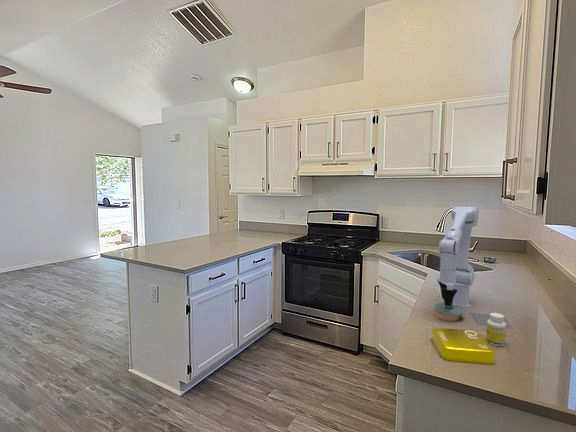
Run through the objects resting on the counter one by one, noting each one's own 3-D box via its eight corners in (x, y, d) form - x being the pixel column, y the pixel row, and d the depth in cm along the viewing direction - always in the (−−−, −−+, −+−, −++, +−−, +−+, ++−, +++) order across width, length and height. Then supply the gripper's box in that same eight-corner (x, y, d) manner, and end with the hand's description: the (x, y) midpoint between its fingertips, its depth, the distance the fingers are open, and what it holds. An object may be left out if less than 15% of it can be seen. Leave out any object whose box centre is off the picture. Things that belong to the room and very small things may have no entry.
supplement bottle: (487, 337, 113) (488, 310, 112) (506, 342, 109) (507, 314, 108) (484, 343, 108) (486, 315, 108) (504, 348, 105) (505, 319, 104)
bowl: (432, 311, 136) (432, 305, 135) (456, 314, 133) (456, 307, 132) (434, 320, 127) (435, 313, 127) (460, 323, 124) (460, 315, 124)
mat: (470, 314, 133) (470, 312, 133) (503, 317, 129) (503, 316, 129) (476, 325, 122) (476, 324, 122) (513, 330, 118) (513, 328, 118)
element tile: (430, 338, 113) (430, 325, 113) (476, 342, 110) (477, 328, 110) (442, 361, 98) (443, 346, 98) (496, 366, 96) (497, 350, 95)
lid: (432, 304, 136) (433, 290, 136) (461, 307, 133) (462, 293, 132) (435, 313, 126) (435, 298, 126) (466, 317, 122) (467, 302, 122)
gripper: (435, 264, 136) (433, 295, 137) (439, 272, 123) (437, 307, 124) (453, 265, 134) (452, 297, 135) (459, 274, 120) (458, 309, 122)
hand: (446, 302), depth 129 cm, fingers open, 7 cm apart
